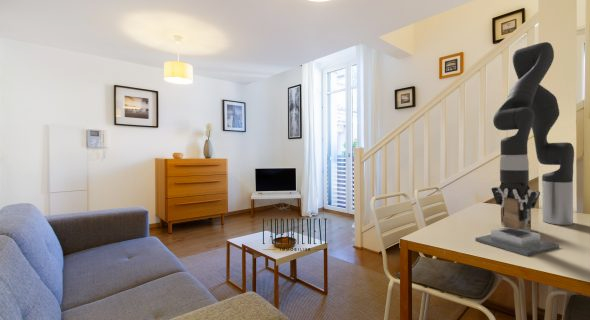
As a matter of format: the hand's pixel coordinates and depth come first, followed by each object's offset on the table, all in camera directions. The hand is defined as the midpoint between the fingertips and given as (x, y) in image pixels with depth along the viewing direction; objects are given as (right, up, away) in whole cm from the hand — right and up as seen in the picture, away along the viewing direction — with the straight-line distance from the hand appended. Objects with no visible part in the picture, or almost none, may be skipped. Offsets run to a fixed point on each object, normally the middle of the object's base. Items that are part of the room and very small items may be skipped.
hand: (514, 219), depth 92 cm
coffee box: (+14, -8, +17) cm, 24 cm away
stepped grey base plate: (0, -8, 0) cm, 8 cm away
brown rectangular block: (0, -3, 0) cm, 3 cm away
